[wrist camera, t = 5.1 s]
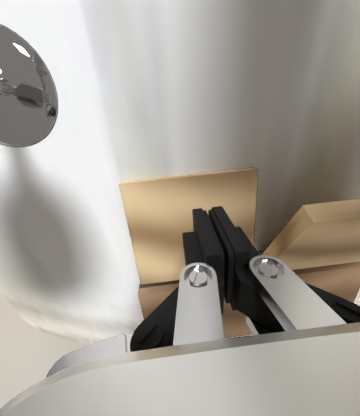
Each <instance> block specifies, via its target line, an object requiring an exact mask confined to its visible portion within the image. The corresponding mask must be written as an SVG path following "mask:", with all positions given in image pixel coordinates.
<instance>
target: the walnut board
mask: <svg viewBox="0 0 360 416" xmlns="http://www.w3.org/2000/svg"><path fill="white" fill-rule="evenodd" d="M292 271H293V272H294V273H295V274H296V275H297V276H298V277H299V278H300V279H301V280H302V281H303V282H305V283H308V284H310V285H313V286H315V287H317V288H320V289H322V290H325V291H327V292H329V293H332V294H334V295H337V296H339V297H341V298H344V299H346V300H349V301H351V302H353V303H354V300H355V298H356V295H357V293H358V291H359V288H360V262H352V263H344V264H336V265H328V266H320V267H312V268H304V269H297V270H292ZM179 281H180V280H175V281H167V282H159V283H151V284H143V285H141V284H140V286H139V292H138V296H139V300H140V304H141V308H142V312H143V316H144V320H145V319H146V318H147V317H148V316H149V315H150V314H151V313H152V312H153V311H154V310H155V309H156V308H157V307H158V306H159V305H160V304H161V303H162V302H163V301H164V300H165V299H166V298H167V297H168V296H169V295H170V294H171V293H172V292H173V291H174V290H175V289H176V288H177V287H178V286H179ZM221 316H222V324H223V332H224V338H228V337H235V336H243V335H250V334H252V332H251V330H250V328H249V327H248V325H247V323H246V321H245V318H244V314H243V313H241V312H239V311H238V310H233V311H232V308H231V305H230V303H226V302H225V299H224V309H223V314H222V315H221Z"/></svg>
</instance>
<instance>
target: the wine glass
mask: <svg viewBox="0 0 360 416" xmlns="http://www.w3.org/2000/svg"><path fill="white" fill-rule="evenodd" d="M57 109H58V101H57V93H56V89H55V84H54V82H53V79H52V77H51V74H50V72H49V70H48V68H47V67H46V65H45V63H44V61H43V60H42V59H41V57H40V56H39V55H38V53H37V52H36V51H35V50H34V48H33V47H32V46H31V45H30V44H29V43H28V42H27V41H26V40H24V39H23V38H22V37H21V36H20V35H18V34H17V33H16V32H14V31H13V30H11V29H9V28H8V27H6V26H4V25H2V24H0V144H4V145H9V146H27V145H31V144H34V143H36V142H38V141H40V140H41V139H43V138H44V137H46V135H47V134H48V133H49V132H50V131H51V129H52V127H53V125H54V123H55V120H56V116H57Z"/></svg>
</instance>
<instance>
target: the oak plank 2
mask: <svg viewBox="0 0 360 416" xmlns="http://www.w3.org/2000/svg"><path fill="white" fill-rule="evenodd" d="M262 255H267V256H272V257H275V258H277V259H279V260H281V261H282V262H283V263H285V264H286V265H287V266H288V267H289V268H290V269H291V270H297V269H304V268H312V267H320V266H328V265H336V264H344V263H352V262H360V198H359V199H351V200H342V201H333V202H325V203H316V204H307V205H302V206H301V208H300V209H299V210H298V211H297V212H296V214H295V215H294V216H293V217H292V218H291V220H290V221H289V222H288V223H287V225H286V226H285V227H284V228H283V229H282V231H281V232H280V233H279V234H278V235H277V237H276V238H275V239H274V240H273V242H272V243H271V244H270V245H269V246H268V248H267V249H266V250H265V251H264V252H263V254H262Z"/></svg>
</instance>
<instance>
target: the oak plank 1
mask: <svg viewBox="0 0 360 416" xmlns="http://www.w3.org/2000/svg"><path fill="white" fill-rule="evenodd" d="M257 179H258V169H255V168H245V169H235V170H226V171H217V172H207V173H198V174H189V175H179V176H170V177H161V178H151V179H142V180H133V181H123V182H121V183H120V184H119V186H120V191H121V195H122V200H123V205H124V209H125V214H126V218H127V223H128V228H129V232H130V237H131V241H132V246H133V251H134V255H135V260H136V265H137V269H138V274H139V278H140V283H141V285H143V284H151V283H159V282H167V281H175V280H180V274H181V271H182V270H183V268H184V267H186V264H185V256H184V248H183V237H182V233H184V232H193V231H194V230H193V214H192V209H199V208H202V209H203V210H206V211H207V214H208V210H211V209H212V207H218V206H222V207H223V209H224V210H225V212H226V213H227V215H228V217H229V218H230V220H231V221H232V223H233V225H234V226H235V227H238V226H239V227H241V228H242V230H243V231H244V233H245V234H246V236H247V237H248V239H249V240H250V242H251V243H252V245H253V246H254V229H255V213H256V196H257Z"/></svg>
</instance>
